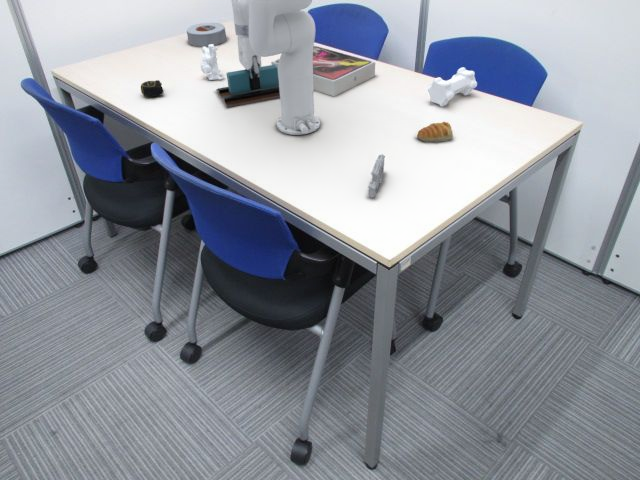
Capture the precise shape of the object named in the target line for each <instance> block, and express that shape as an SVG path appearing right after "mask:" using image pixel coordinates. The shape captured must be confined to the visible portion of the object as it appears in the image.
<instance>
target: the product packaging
mask: <svg viewBox="0 0 640 480" xmlns="http://www.w3.org/2000/svg"><path fill="white" fill-rule="evenodd" d="M279 59H280V58H277V59H275V60H272V61H271V62H270V63H271V64H270V65H275V66H276V67H277V70H278V63H279ZM374 77H376V61H374V60H370V59H366V58H364V57H363V58H362V57H359V56H355V55H351V54H348V53H343V52H340V51H338V50H333V49H329V48H326V47H323V46H318V45H315V44H314V47H313V90H314V91H315V92H319V93H322V94H325V95H328V96H331V97H336V96H338V95H340V94H342V93H344V92H346V91H348V90H351V89H353V88H354V87H356V86H358V85H361V84H362V83H364V82H367V81H368V80H370V79H373V78H374Z"/></svg>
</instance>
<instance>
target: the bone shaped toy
mask: <svg viewBox="0 0 640 480" xmlns="http://www.w3.org/2000/svg"><path fill="white" fill-rule="evenodd" d="M475 75H476V73H475V71H474V70H468V69H466V67H463V66H462V67H460V68H458V69H457V70H456V74H453V75H452V76H451V78H450V79H447V80H444V79H443V78H442V77H440V76H438V77H436V78H434V80H433V81H432V84H430V85H428V87H427V92H428V94H429V96H430V102H431V103H433V104H438V105H439V107H445V106H447V105H448V103H449V101H450V100H452V99H453V98H454V97H455V95H456V94H459V93H460V94H462V95H463V96H464V97H465V96H468V95H470V94H471V93H472V90H474V89H476V88H477V86H478V81H476V76H475Z"/></svg>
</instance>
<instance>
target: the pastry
mask: <svg viewBox="0 0 640 480" xmlns="http://www.w3.org/2000/svg"><path fill="white" fill-rule="evenodd" d="M453 136H454V133H453V129H452V126H451V124H450V123H449V122H447V121H442V122H436V123H434V122H433V123H430V124H429V125H427V126H424V127H422V128H421V129H419V130H418V131H417V135H416V138H417V139H419V140H421V141H423V142H425V143H426V142H427V143H430V142H431V143H436V142H439V143H440V142H443V141H444V142H447V141H448V142H449V141H450V140H451V139H452V138H453Z"/></svg>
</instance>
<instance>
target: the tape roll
mask: <svg viewBox="0 0 640 480" xmlns="http://www.w3.org/2000/svg"><path fill="white" fill-rule="evenodd" d="M226 33H227V32H226V27H225V24H223V23H220V22H202V23H201V22H200V23H196V24H193V25H191V26H189V27H187V28H186V36H187V41H188V44H189V45H190V46H193V47H199V48H200V47H201V48H202V47H207V48H208V45H210V44H213V45H214V46H217V45H221V44H223V43H225V42H226V41H227V34H226Z"/></svg>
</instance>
